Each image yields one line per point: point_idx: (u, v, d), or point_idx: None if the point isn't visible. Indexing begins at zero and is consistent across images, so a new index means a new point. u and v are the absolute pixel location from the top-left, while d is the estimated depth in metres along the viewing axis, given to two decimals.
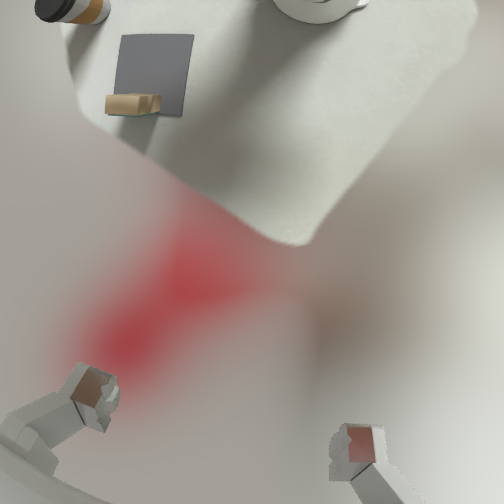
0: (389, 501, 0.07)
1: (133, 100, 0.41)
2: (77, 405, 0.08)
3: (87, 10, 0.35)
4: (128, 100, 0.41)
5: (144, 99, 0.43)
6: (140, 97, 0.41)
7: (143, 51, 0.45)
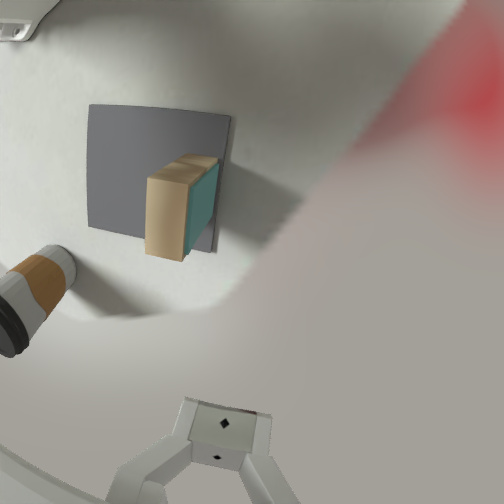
0: (265, 499, 0.07)
1: (155, 191, 0.21)
2: (195, 445, 0.08)
3: (30, 276, 0.29)
4: (155, 203, 0.21)
5: (166, 171, 0.22)
6: (152, 176, 0.21)
7: (112, 188, 0.31)
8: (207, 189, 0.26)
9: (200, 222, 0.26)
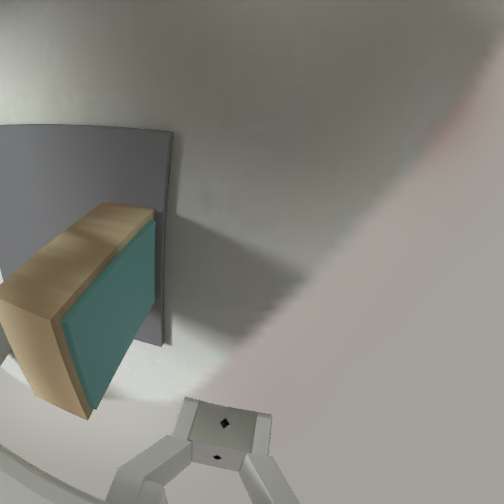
0: (265, 499, 0.07)
1: (8, 320, 0.08)
2: (195, 445, 0.08)
3: None
4: (16, 338, 0.09)
5: (34, 266, 0.10)
6: (1, 288, 0.08)
7: (20, 248, 0.18)
8: (125, 283, 0.13)
9: (118, 341, 0.13)
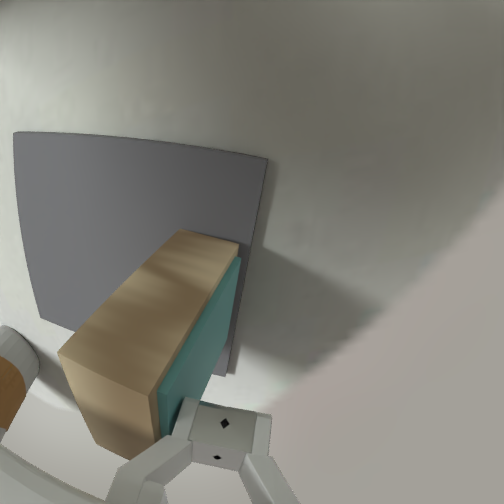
0: (265, 499, 0.07)
1: (81, 381, 0.08)
2: (195, 445, 0.08)
3: None
4: (88, 398, 0.08)
5: (110, 316, 0.09)
6: (71, 344, 0.08)
7: (62, 273, 0.18)
8: (212, 331, 0.12)
9: (198, 391, 0.12)
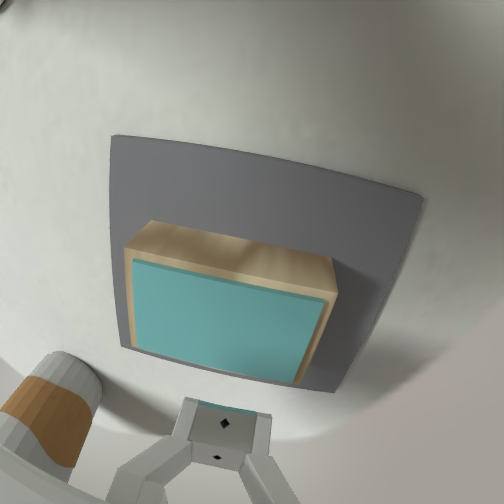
0: (265, 499, 0.07)
1: None
2: (195, 445, 0.08)
3: (40, 427, 0.16)
4: None
5: (188, 233, 0.15)
6: (158, 223, 0.15)
7: None
8: (229, 311, 0.13)
9: (196, 345, 0.14)
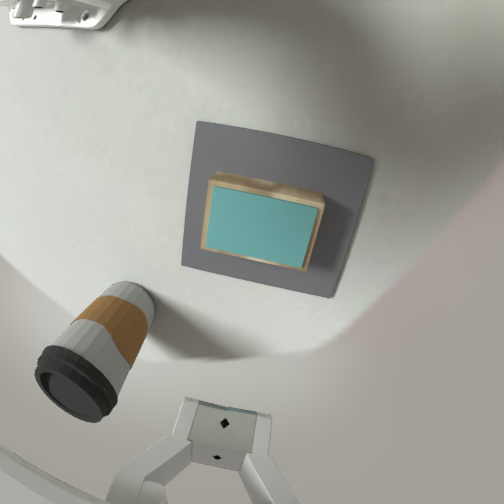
0: (265, 499, 0.07)
1: None
2: (195, 445, 0.08)
3: (112, 326, 0.27)
4: None
5: (241, 177, 0.26)
6: (223, 172, 0.26)
7: None
8: (266, 215, 0.24)
9: (245, 240, 0.25)
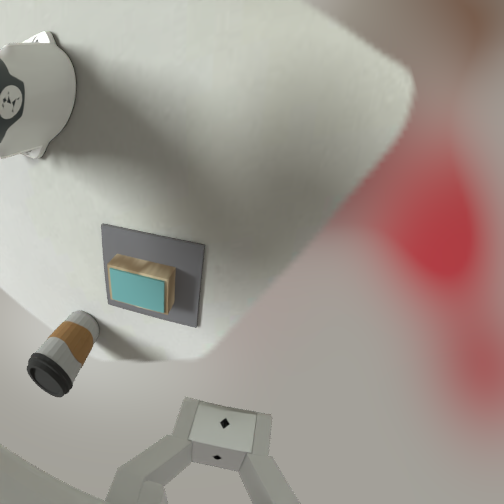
0: (265, 499, 0.07)
1: None
2: (195, 445, 0.08)
3: (69, 341, 0.43)
4: None
5: (128, 258, 0.42)
6: (119, 255, 0.42)
7: None
8: (138, 284, 0.40)
9: (131, 297, 0.41)
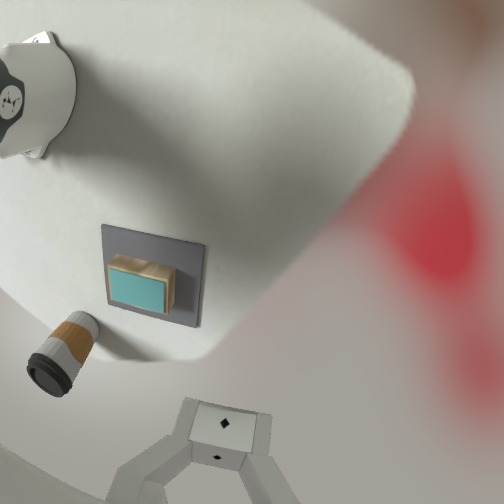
0: (265, 500, 0.07)
1: None
2: (195, 445, 0.08)
3: (69, 341, 0.43)
4: None
5: (128, 259, 0.42)
6: (119, 255, 0.42)
7: None
8: (138, 285, 0.40)
9: (130, 297, 0.41)
